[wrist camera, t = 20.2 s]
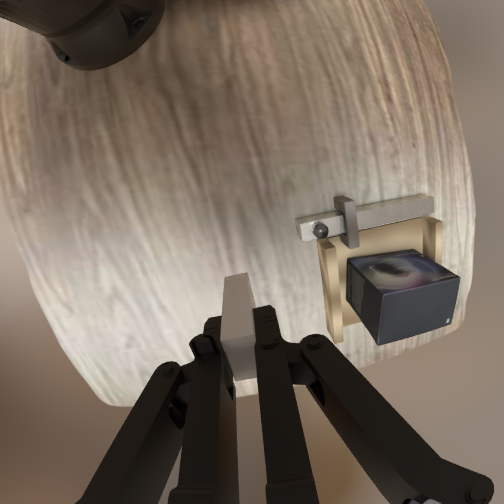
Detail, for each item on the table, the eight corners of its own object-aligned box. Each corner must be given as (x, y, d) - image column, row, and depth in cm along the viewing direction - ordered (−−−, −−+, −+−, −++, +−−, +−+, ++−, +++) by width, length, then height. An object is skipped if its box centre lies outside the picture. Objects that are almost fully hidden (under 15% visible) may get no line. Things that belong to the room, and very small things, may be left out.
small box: (414, 245, 33) (463, 274, 23) (410, 288, 35) (452, 326, 25) (345, 255, 33) (384, 293, 23) (344, 301, 35) (377, 349, 25)
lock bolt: (295, 219, 32) (301, 226, 29) (423, 194, 31) (438, 198, 28) (298, 236, 32) (304, 244, 29) (423, 208, 32) (438, 214, 29)
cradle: (310, 202, 31) (319, 207, 28) (424, 181, 31) (441, 185, 28) (327, 329, 37) (334, 344, 34) (425, 298, 37) (437, 309, 33)
